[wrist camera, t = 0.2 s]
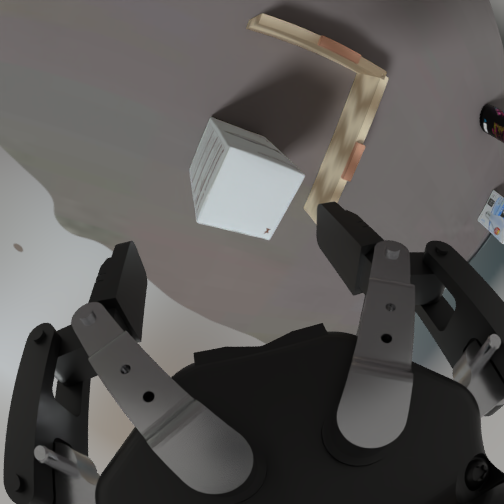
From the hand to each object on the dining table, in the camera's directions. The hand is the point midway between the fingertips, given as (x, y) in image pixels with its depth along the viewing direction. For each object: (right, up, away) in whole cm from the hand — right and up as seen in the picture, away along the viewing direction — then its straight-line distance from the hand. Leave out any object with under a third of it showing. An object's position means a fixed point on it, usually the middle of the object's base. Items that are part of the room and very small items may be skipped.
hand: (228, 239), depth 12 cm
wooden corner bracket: (+5, +15, +20) cm, 26 cm away
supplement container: (+50, +28, +25) cm, 63 cm away
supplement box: (-2, +12, +21) cm, 24 cm away
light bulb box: (+67, +12, +44) cm, 81 cm away
